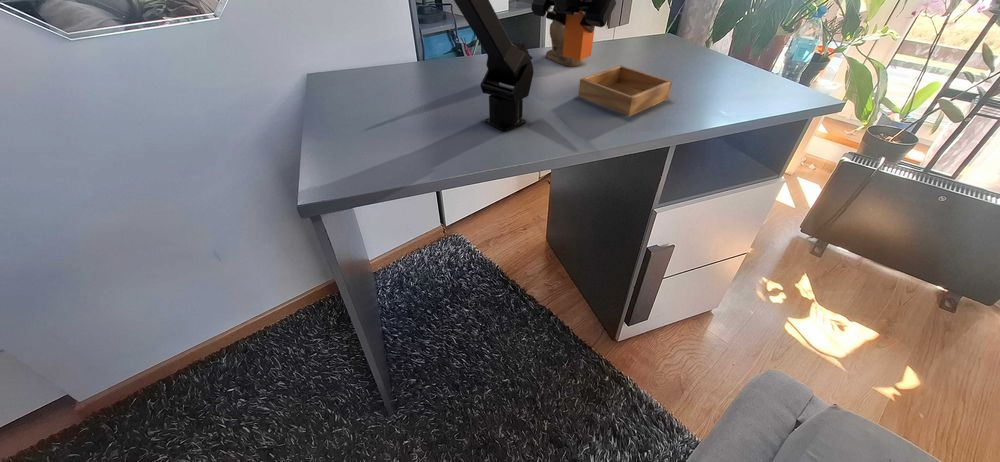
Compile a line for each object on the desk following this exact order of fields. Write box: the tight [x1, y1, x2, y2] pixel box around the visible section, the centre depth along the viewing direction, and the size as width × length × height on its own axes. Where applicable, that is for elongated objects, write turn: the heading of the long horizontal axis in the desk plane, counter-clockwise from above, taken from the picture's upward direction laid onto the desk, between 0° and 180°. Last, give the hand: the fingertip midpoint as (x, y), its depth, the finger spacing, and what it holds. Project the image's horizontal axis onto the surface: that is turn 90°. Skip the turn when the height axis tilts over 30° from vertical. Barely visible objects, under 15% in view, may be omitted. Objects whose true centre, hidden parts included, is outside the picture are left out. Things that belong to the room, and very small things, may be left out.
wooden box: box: [578, 64, 673, 117], centre depth 95 cm, size 15×15×5 cm
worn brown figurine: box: [545, 20, 582, 68], centre depth 116 cm, size 12×6×18 cm, turn 28°
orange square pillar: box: [563, 10, 596, 61], centre depth 96 cm, size 5×5×11 cm
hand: (582, 29), depth 97 cm, fingers closed on orange square pillar, 5 cm apart
